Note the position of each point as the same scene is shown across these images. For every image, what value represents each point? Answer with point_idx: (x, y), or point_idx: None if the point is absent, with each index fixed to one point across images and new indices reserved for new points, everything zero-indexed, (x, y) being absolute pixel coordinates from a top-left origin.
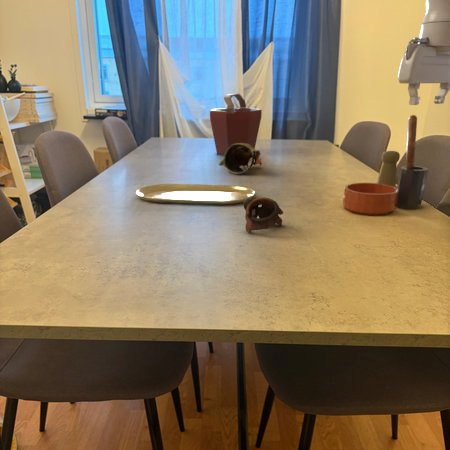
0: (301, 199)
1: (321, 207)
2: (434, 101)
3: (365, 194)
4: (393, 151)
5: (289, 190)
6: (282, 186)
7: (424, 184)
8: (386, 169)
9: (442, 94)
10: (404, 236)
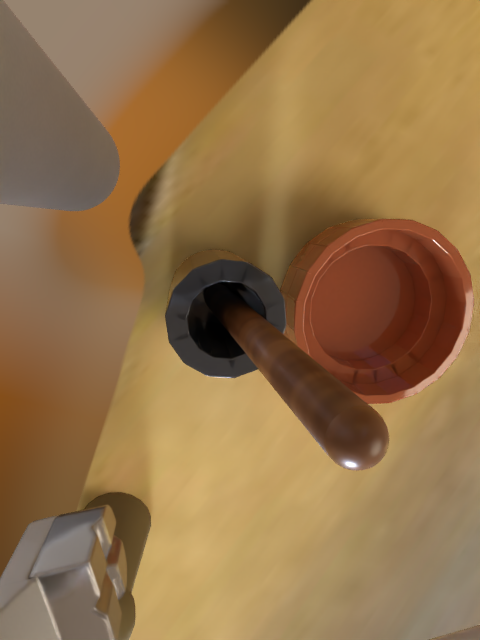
0: (460, 457)
1: (464, 363)
2: (123, 583)
3: (457, 252)
4: None
5: (430, 557)
6: (420, 604)
7: (197, 260)
8: (129, 560)
9: (28, 627)
10: (452, 18)
